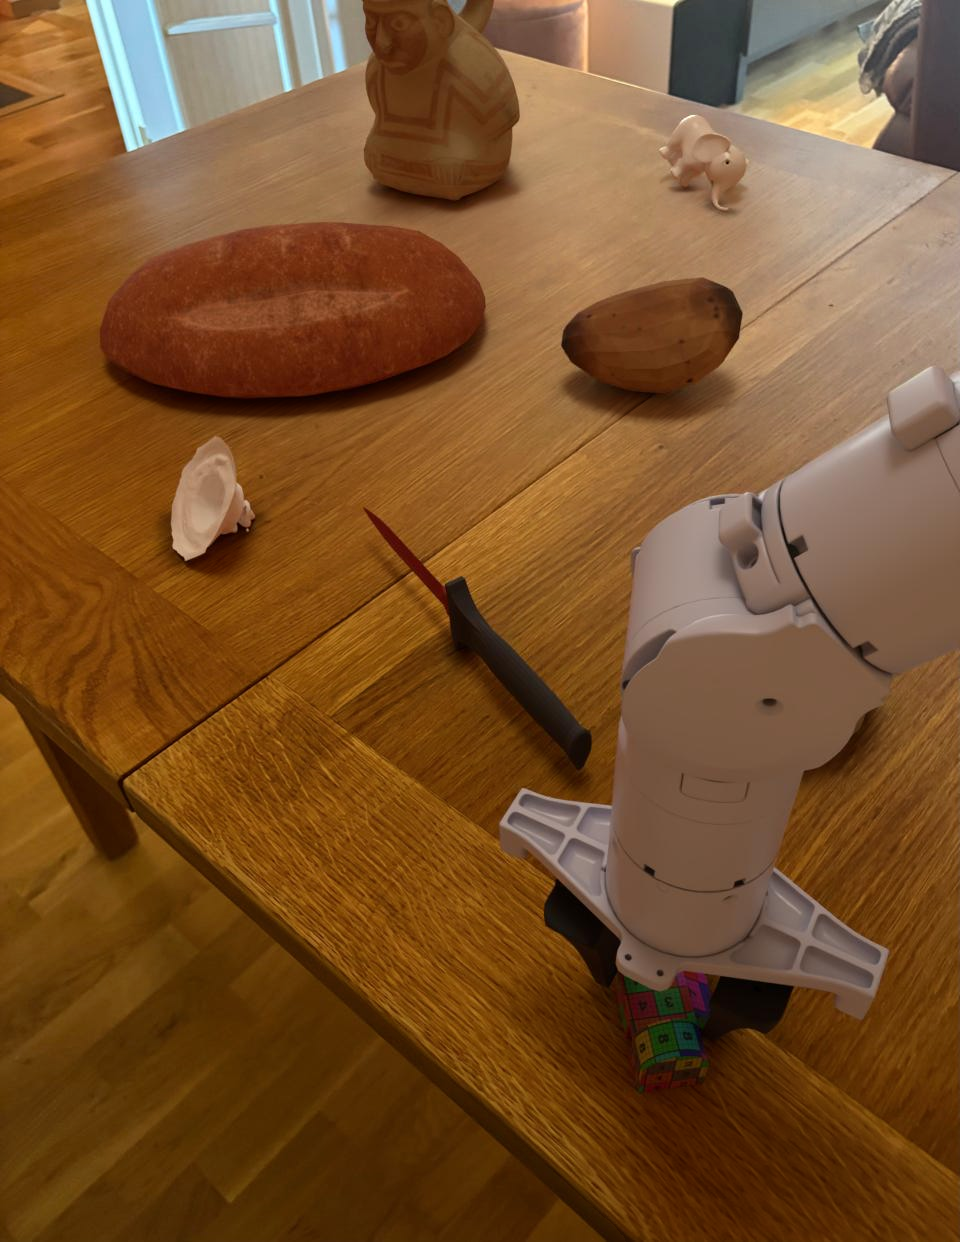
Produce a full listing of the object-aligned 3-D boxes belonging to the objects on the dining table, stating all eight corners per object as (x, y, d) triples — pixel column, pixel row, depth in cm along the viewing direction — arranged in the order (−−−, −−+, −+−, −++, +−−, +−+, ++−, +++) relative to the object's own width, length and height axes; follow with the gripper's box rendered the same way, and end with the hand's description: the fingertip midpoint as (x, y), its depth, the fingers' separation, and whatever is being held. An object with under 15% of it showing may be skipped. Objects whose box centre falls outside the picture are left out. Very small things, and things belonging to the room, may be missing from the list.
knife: (592, 771, 55) (596, 712, 51) (570, 784, 54) (572, 725, 50) (376, 531, 69) (367, 472, 65) (357, 540, 68) (347, 480, 65)
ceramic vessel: (327, 197, 106) (284, -93, 88) (433, 130, 117) (413, -140, 99) (467, 231, 99) (451, -75, 81) (564, 156, 110) (569, -127, 92)
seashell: (247, 577, 72) (275, 544, 65) (168, 573, 70) (190, 539, 63) (245, 469, 74) (273, 426, 66) (169, 461, 71) (189, 416, 64)
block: (733, 1079, 43) (744, 1047, 41) (638, 1092, 43) (644, 1061, 41) (695, 946, 48) (703, 910, 45) (608, 958, 47) (612, 923, 45)
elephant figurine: (689, 213, 98) (745, 166, 95) (638, 127, 102) (690, 78, 99) (722, 242, 104) (776, 198, 100) (673, 159, 108) (723, 114, 105)
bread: (506, 389, 80) (503, 283, 74) (91, 437, 78) (51, 332, 71) (468, 255, 96) (463, 158, 89) (121, 292, 93) (91, 195, 87)
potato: (580, 428, 81) (563, 335, 83) (752, 388, 79) (731, 293, 80) (566, 395, 74) (548, 293, 75) (756, 349, 71) (733, 245, 73)
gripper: (451, 819, 35) (470, 992, 45) (882, 1022, 30) (797, 1168, 39) (546, 680, 39) (545, 866, 49) (939, 835, 34) (849, 1009, 44)
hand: (662, 991), depth 44 cm, fingers closed on block, 4 cm apart
